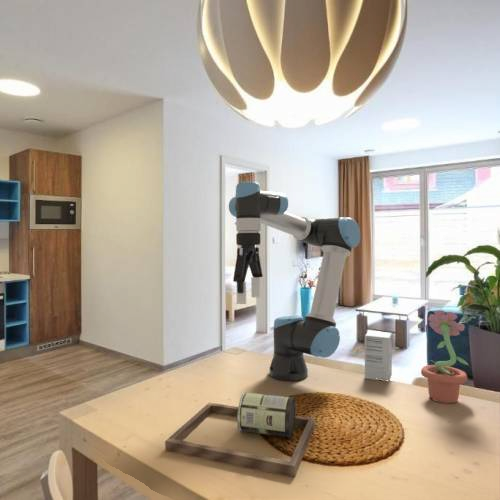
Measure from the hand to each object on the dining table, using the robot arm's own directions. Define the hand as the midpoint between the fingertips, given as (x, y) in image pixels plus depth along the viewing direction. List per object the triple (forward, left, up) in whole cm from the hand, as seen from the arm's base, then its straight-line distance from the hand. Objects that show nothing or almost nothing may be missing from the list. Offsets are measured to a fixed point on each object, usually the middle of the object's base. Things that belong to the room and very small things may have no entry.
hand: (249, 300), depth 121 cm
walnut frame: (+9, -16, -34) cm, 39 cm away
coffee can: (+6, -12, -29) cm, 32 cm away
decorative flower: (+49, +43, -34) cm, 74 cm away
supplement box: (+24, +53, -34) cm, 68 cm away
